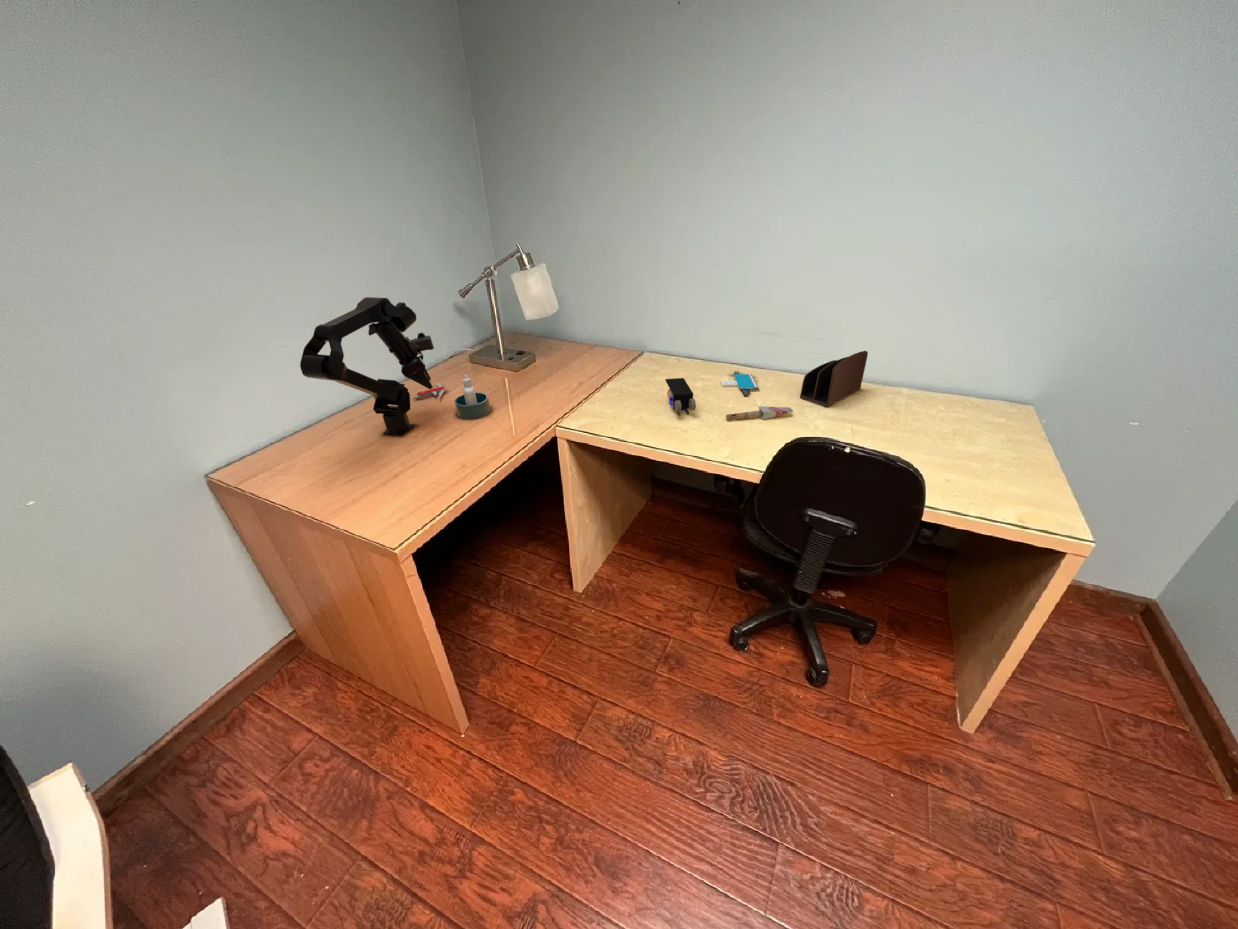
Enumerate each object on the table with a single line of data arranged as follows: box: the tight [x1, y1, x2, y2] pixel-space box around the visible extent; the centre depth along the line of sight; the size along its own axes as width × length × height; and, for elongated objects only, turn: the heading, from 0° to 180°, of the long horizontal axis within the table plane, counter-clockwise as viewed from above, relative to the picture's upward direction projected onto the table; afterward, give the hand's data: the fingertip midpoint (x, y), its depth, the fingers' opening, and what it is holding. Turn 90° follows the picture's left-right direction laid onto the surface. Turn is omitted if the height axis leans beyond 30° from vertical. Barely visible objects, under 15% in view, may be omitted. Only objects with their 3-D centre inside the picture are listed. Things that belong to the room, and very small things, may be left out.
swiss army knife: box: [410, 382, 446, 400], centre depth 167 cm, size 12×14×2 cm
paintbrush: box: [725, 405, 794, 422], centre depth 146 cm, size 4×3×20 cm
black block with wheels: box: [665, 377, 697, 417], centre depth 152 cm, size 7×8×15 cm
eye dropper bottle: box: [462, 374, 477, 406], centre depth 153 cm, size 4×6×12 cm
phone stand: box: [719, 370, 761, 398], centre depth 167 cm, size 20×12×2 cm, turn 178°
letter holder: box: [799, 350, 869, 408], centre depth 155 cm, size 10×20×14 cm, turn 130°
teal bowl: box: [454, 391, 491, 420], centre depth 155 cm, size 10×10×4 cm
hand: (430, 384), depth 148 cm, fingers open, 9 cm apart
